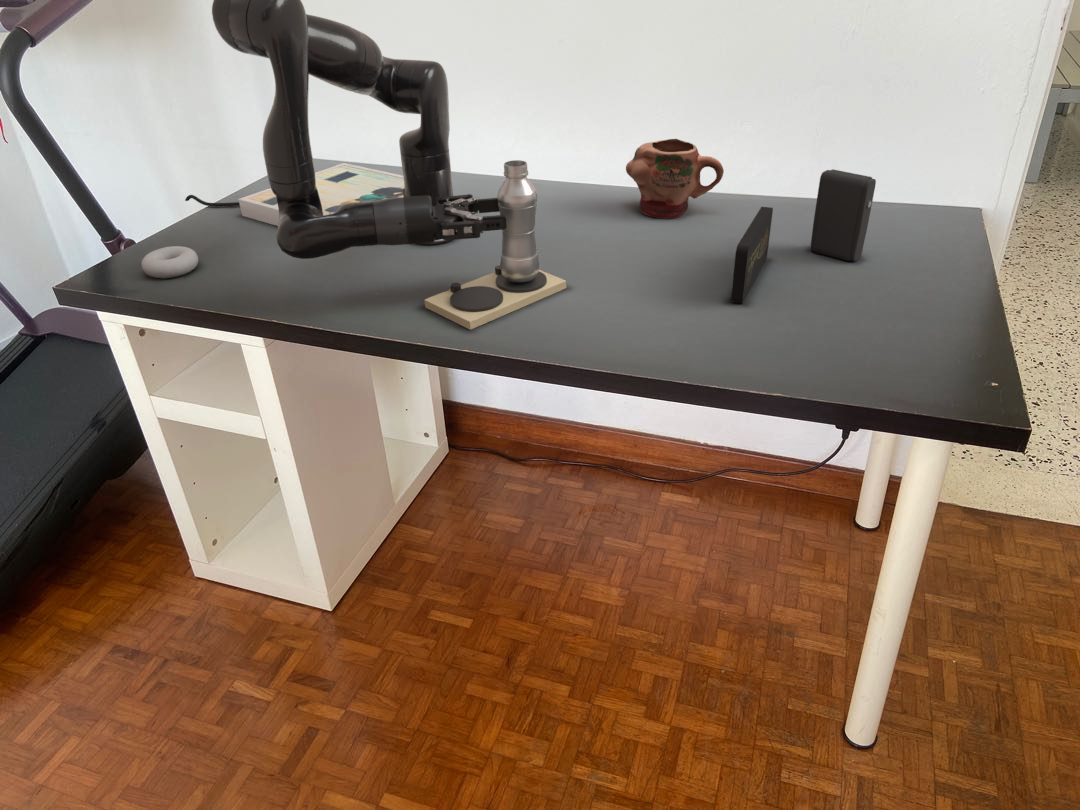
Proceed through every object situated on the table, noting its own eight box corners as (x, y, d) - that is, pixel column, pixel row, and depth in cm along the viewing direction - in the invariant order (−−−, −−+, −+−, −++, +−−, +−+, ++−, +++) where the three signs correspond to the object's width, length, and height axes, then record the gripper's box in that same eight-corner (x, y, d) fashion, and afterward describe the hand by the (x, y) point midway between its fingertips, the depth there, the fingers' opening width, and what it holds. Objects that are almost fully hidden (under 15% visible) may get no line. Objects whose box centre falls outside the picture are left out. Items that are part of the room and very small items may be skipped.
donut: (176, 284, 153) (211, 262, 161) (171, 267, 151) (206, 245, 159) (132, 278, 156) (168, 257, 164) (126, 261, 154) (163, 240, 162)
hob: (425, 307, 141) (423, 292, 140) (520, 269, 154) (519, 255, 152) (470, 330, 134) (469, 314, 133) (566, 288, 146) (566, 274, 145)
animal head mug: (721, 204, 180) (727, 138, 172) (718, 224, 170) (724, 155, 162) (628, 199, 184) (630, 135, 177) (620, 219, 174) (621, 151, 167)
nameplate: (741, 305, 138) (748, 248, 133) (730, 303, 139) (736, 246, 134) (766, 258, 155) (773, 206, 149) (756, 257, 155) (762, 204, 150)
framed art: (335, 225, 165) (238, 198, 181) (338, 243, 167) (242, 215, 183) (439, 183, 186) (343, 162, 201) (440, 199, 188) (346, 178, 203)
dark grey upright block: (864, 257, 154) (880, 176, 146) (854, 264, 151) (869, 182, 143) (818, 245, 159) (830, 166, 151) (807, 252, 157) (819, 172, 149)
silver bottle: (500, 272, 148) (493, 158, 137) (538, 270, 148) (535, 156, 137) (501, 288, 142) (494, 170, 131) (541, 285, 142) (537, 168, 132)
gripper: (401, 213, 129) (507, 205, 130) (400, 184, 141) (497, 177, 142) (407, 259, 133) (509, 250, 134) (406, 227, 145) (499, 220, 146)
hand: (503, 212), depth 138 cm, fingers open, 8 cm apart
